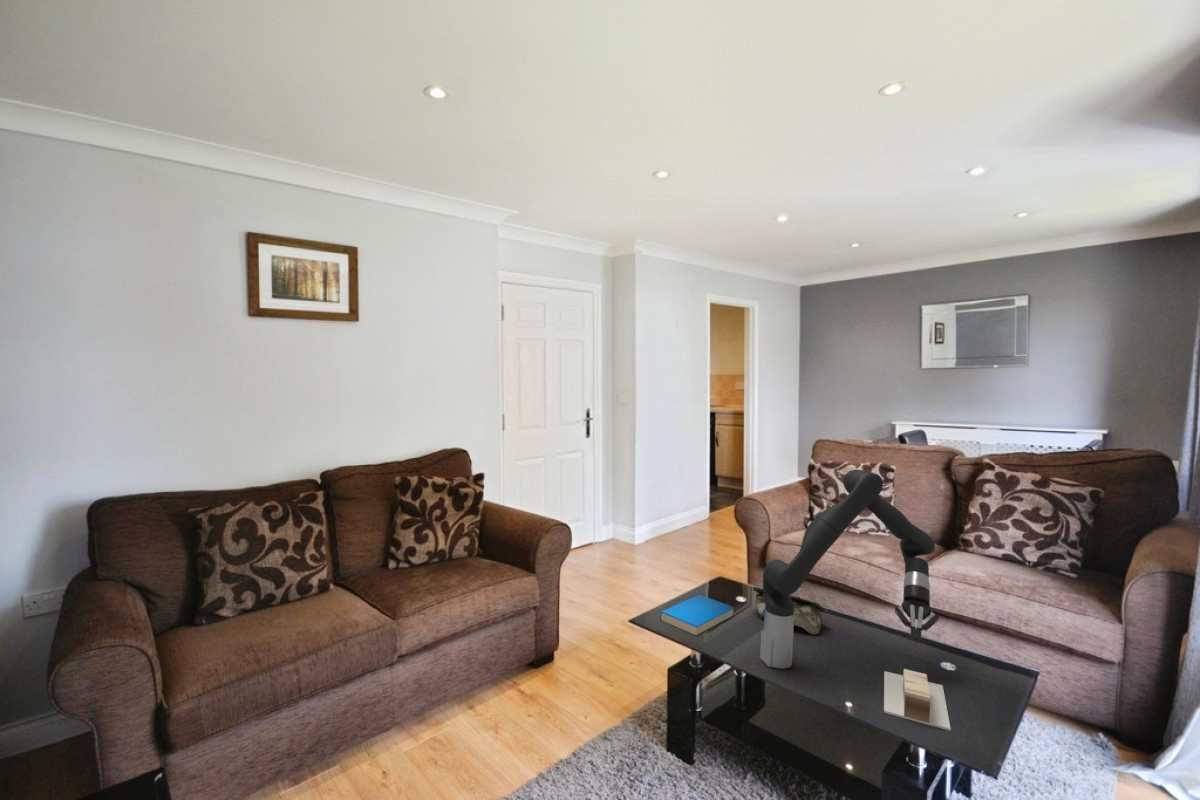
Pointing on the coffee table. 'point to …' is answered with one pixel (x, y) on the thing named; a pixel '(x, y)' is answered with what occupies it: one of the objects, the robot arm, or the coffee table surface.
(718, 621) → the book
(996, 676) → the coffee table surface
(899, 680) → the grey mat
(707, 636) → the coffee table surface
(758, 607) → the weathered driftwood
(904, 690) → the maple block
